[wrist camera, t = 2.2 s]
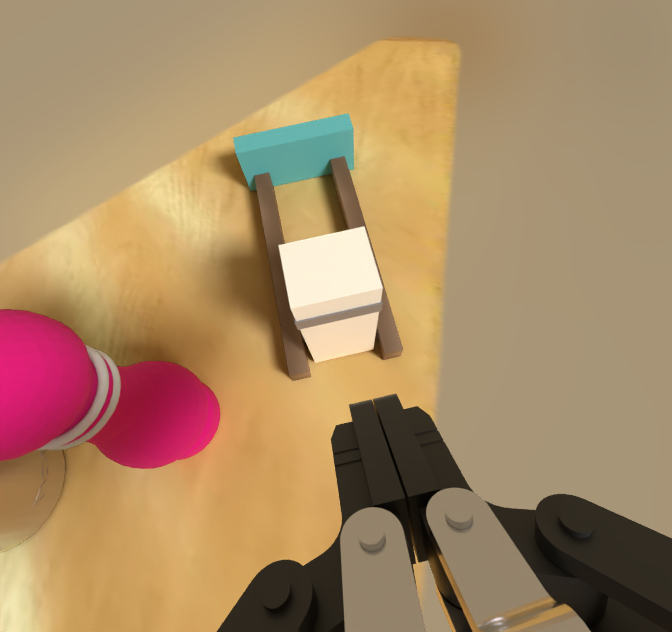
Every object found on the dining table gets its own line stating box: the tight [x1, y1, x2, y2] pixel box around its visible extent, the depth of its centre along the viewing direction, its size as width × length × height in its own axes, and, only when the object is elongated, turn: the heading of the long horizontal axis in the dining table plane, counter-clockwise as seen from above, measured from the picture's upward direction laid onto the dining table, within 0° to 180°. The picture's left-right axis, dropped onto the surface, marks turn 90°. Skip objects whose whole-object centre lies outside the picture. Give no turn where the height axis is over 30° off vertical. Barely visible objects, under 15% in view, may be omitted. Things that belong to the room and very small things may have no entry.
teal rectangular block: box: [233, 114, 354, 191], centre depth 35 cm, size 11×2×5 cm, turn 103°
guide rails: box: [254, 156, 403, 381], centre depth 33 cm, size 9×22×2 cm, turn 13°
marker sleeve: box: [278, 227, 383, 363], centre depth 25 cm, size 5×4×12 cm
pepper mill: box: [0, 309, 220, 469], centre depth 20 cm, size 7×7×20 cm
